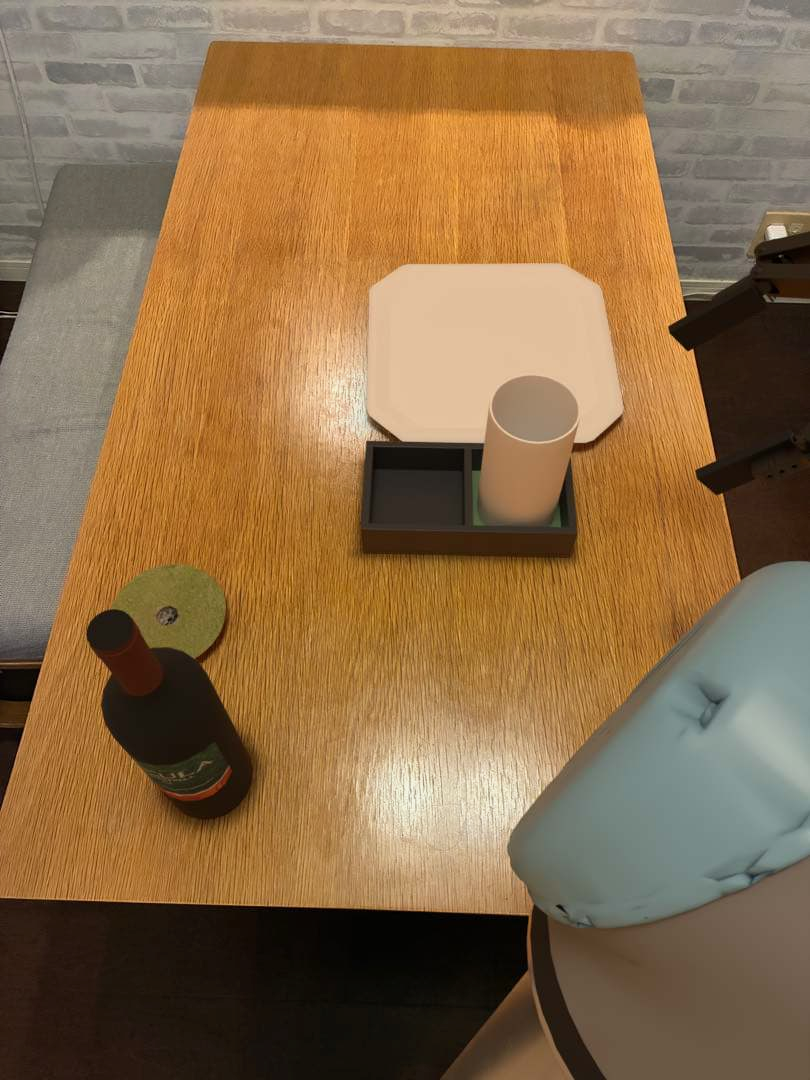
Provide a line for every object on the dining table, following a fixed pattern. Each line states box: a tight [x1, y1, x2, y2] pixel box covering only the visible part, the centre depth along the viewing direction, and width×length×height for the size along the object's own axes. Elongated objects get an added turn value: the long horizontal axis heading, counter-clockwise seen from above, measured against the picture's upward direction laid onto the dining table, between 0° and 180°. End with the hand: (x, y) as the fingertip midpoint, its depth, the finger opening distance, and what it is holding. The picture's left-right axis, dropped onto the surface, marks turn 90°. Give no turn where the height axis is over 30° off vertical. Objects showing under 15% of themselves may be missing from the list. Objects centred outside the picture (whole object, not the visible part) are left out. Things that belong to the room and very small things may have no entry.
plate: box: [365, 262, 625, 446], centre depth 101 cm, size 29×29×2 cm
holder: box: [360, 440, 579, 558], centre depth 89 cm, size 11×21×5 cm, turn 88°
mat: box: [110, 563, 227, 659], centre depth 83 cm, size 11×11×2 cm
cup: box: [477, 374, 581, 527], centre depth 83 cm, size 8×8×16 cm
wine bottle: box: [85, 608, 254, 821], centre depth 63 cm, size 8×8×30 cm
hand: (690, 407), depth 62 cm, fingers open, 13 cm apart
